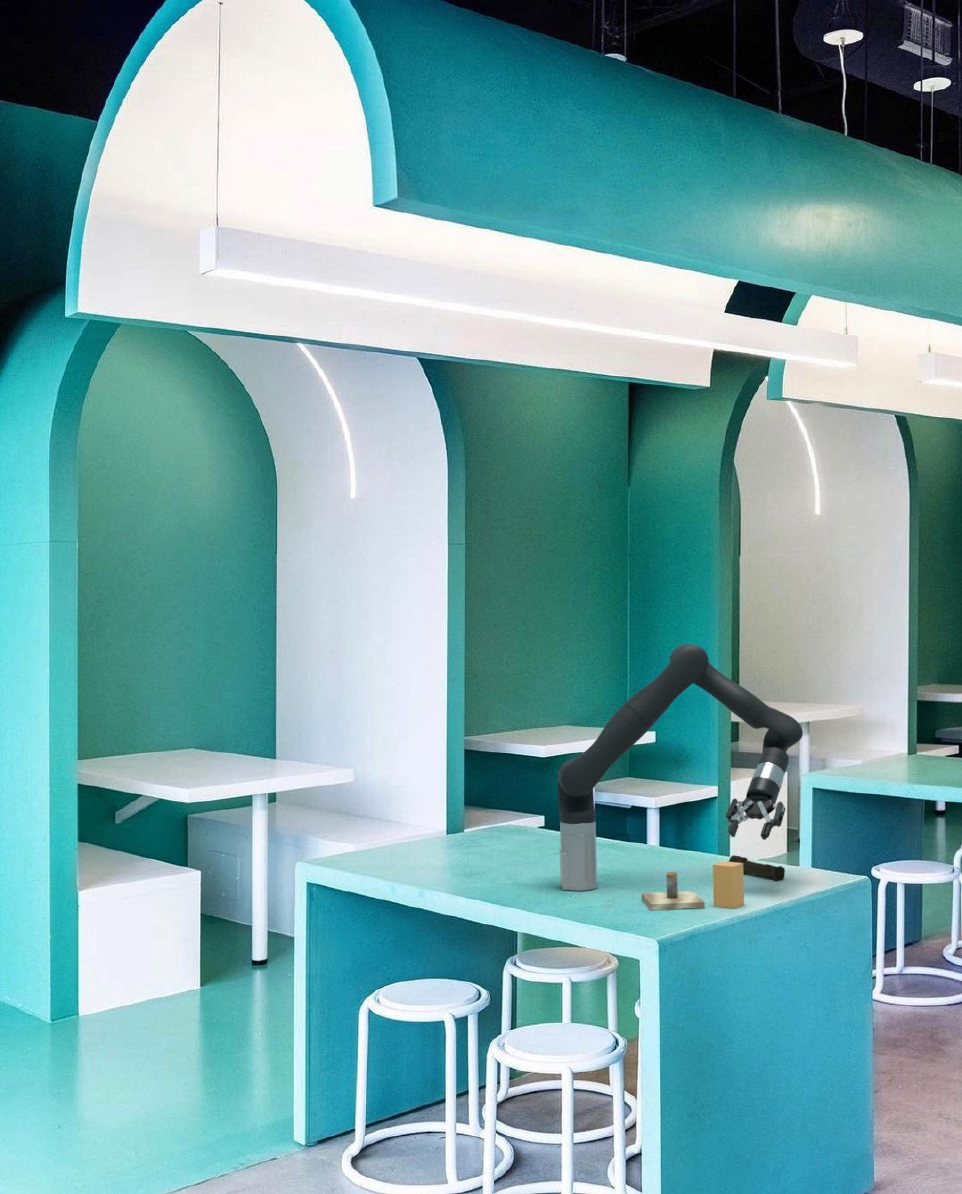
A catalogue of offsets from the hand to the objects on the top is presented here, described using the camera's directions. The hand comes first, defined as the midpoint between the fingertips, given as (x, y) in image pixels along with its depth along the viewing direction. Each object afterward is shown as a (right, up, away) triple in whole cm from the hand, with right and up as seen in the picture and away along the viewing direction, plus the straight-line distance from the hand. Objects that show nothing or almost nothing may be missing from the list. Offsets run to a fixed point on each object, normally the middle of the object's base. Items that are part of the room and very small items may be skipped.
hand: (747, 836), depth 343 cm
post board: (-19, -16, -5) cm, 25 cm away
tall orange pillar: (-6, -15, -9) cm, 18 cm away
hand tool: (+7, -16, +27) cm, 32 cm away
